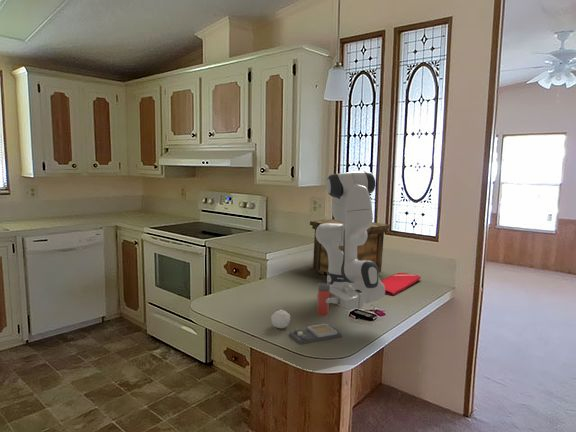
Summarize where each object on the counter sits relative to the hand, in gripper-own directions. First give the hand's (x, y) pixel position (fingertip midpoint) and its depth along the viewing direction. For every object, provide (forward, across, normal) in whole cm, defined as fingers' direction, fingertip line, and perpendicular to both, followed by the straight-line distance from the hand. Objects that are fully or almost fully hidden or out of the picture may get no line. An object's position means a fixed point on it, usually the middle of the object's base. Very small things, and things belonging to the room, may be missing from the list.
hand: (321, 298), depth 164 cm
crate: (-65, -74, +15) cm, 100 cm away
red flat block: (-79, -45, +16) cm, 92 cm away
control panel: (+2, 0, +15) cm, 15 cm away
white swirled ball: (+12, -12, +15) cm, 23 cm away
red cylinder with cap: (-1, 0, +6) cm, 7 cm away
